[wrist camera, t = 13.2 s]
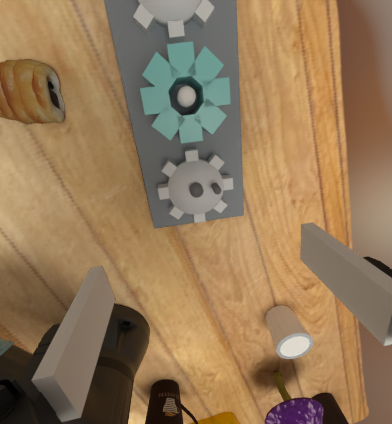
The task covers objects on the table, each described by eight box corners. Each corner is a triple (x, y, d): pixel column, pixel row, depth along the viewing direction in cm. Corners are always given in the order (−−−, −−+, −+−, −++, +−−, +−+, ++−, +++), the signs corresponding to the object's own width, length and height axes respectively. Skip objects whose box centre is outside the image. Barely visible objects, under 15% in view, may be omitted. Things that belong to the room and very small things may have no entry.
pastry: (-6, 125, 29) (-31, 126, 25) (-28, 62, 26) (-59, 54, 22) (71, 122, 29) (57, 123, 26) (57, 61, 27) (39, 53, 23)
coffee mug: (138, 389, 52) (131, 447, 43) (165, 371, 51) (164, 428, 41) (173, 407, 56) (172, 464, 47) (199, 391, 55) (204, 446, 46)
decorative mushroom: (305, 377, 56) (348, 461, 43) (258, 393, 57) (285, 480, 44) (295, 347, 51) (339, 432, 38) (244, 366, 52) (269, 455, 39)
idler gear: (155, 141, 29) (151, 147, 24) (140, 62, 26) (132, 48, 20) (221, 132, 30) (232, 136, 24) (215, 53, 26) (227, 37, 21)
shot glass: (276, 298, 45) (293, 329, 38) (301, 309, 47) (321, 340, 40) (255, 321, 47) (268, 354, 40) (280, 330, 49) (296, 363, 42)
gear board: (155, 224, 36) (150, 253, 28) (88, -82, 22) (43, -187, 14) (241, 211, 36) (259, 237, 29) (228, -96, 23) (257, -204, 15)
